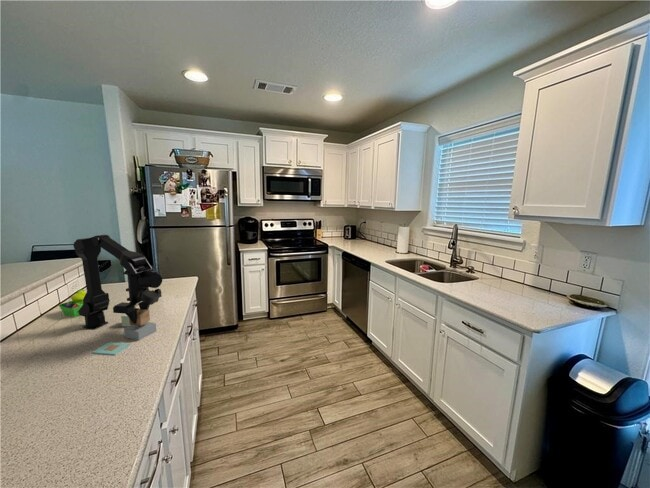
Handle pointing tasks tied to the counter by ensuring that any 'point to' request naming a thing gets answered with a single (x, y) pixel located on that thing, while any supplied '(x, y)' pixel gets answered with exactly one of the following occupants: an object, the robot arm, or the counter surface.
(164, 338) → the counter surface
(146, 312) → the walnut cube
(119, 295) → the counter surface
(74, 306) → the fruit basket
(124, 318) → the sage cube
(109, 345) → the card
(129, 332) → the slate block
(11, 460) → the counter surface
